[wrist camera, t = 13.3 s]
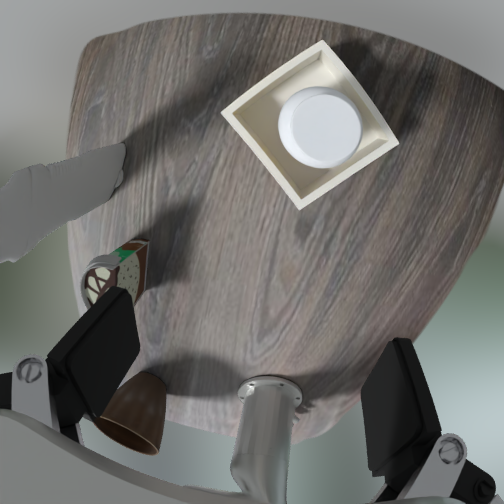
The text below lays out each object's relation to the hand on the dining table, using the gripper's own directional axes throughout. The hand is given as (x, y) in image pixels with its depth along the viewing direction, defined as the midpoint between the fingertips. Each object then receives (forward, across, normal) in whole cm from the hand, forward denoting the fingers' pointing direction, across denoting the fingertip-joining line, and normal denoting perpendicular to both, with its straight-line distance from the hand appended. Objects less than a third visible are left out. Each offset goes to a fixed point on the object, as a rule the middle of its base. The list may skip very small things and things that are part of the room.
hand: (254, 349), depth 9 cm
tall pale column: (+26, +24, 0) cm, 35 cm away
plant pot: (+27, +22, +46) cm, 57 cm away
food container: (+26, +21, +14) cm, 37 cm away
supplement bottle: (+24, -2, -8) cm, 26 cm away
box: (+25, -2, -8) cm, 27 cm away
